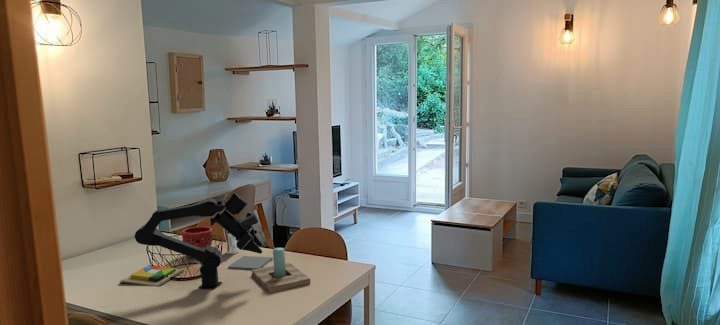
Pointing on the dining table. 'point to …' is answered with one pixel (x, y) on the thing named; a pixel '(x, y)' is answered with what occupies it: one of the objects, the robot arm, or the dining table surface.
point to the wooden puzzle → (152, 275)
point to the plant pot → (198, 236)
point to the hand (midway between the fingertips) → (261, 249)
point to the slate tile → (250, 262)
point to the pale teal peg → (279, 262)
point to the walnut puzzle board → (273, 285)
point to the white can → (231, 243)
